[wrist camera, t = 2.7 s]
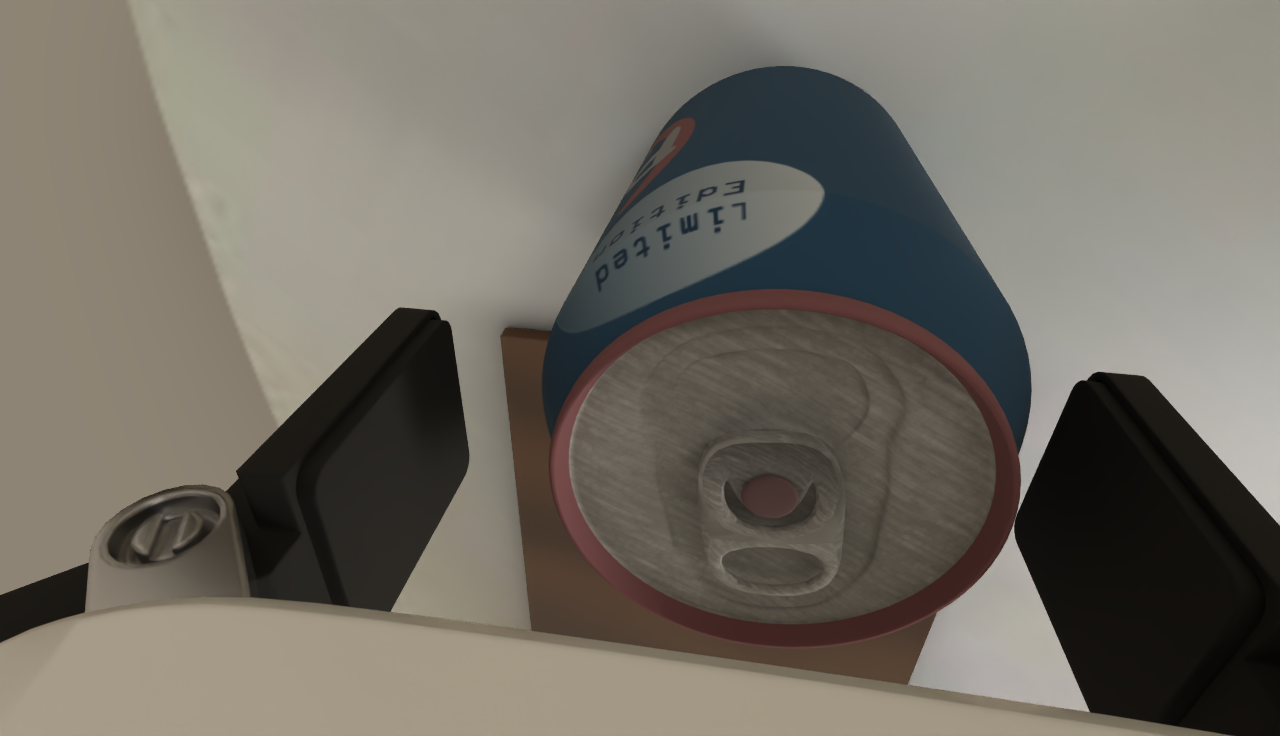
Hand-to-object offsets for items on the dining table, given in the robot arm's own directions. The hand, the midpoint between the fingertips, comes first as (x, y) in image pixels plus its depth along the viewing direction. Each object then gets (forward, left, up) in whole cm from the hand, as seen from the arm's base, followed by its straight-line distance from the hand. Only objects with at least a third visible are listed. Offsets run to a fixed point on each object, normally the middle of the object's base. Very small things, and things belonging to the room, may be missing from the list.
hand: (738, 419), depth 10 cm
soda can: (0, 0, -10) cm, 10 cm away
